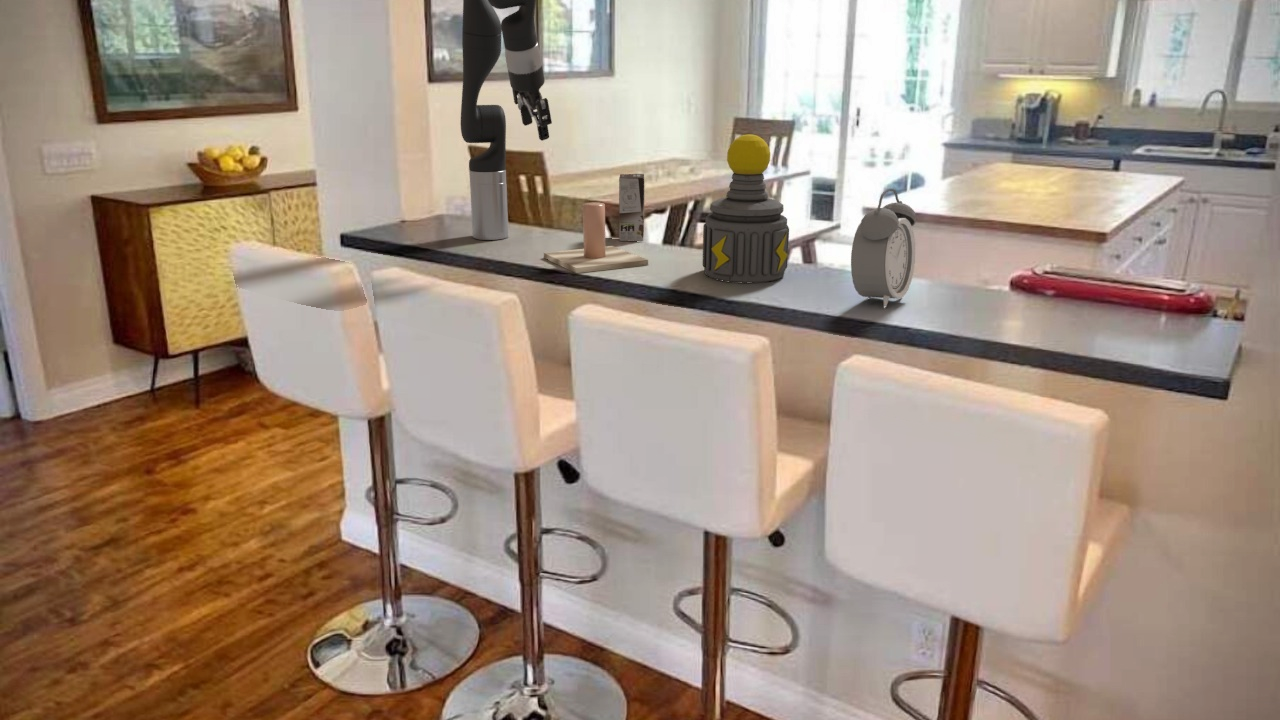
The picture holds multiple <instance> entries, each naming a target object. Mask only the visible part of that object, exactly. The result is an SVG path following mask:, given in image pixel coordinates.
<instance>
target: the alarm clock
mask: <svg viewBox="0 0 1280 720" xmlns="http://www.w3.org/2000/svg"><path fill="white" fill-rule="evenodd" d="M888 192H893V193H894V196H895V201H896V202H891V203H888V204H885V205H884V206H883V207H882V203H883V198H884V196H885V195H886V194H887V193H888ZM916 222H917V218H916V211H915V210H914V209H913V208H912V207H911V206H910V205H909V204H906V203H903V201H901V200H900V199H899V197H898V192H897V191H896V189H894V188H887V189H886V190H884V191H882V192H881V194H880V197H879V200H878V204H877V208H874V209H872V210H870V211H869V212H866V213H865V215H864V216H863V217H862V218H861V221H860V223H859V224H858V226H857V228H856V230H855V233H854V237H853V242H852V247H851V253H850V255H851V256H850V271H851V279H852V283H853V287H854V288H855V291H856V292H857V294H858V295H859V296H861V297H863V298H867V299H868V298H870V299H871V298H880V299H882V298H883V307H884V306H886V307H887V306H888V303H889V300H890V299H895V300H896V299H900V298H902V299H903V298H904V296H905V295H906V294H907V293H908V291H909V289H910V286H911V283H912V280H913V276H914V272H915V270H914V269H915V263H916V239H915V233H914V229H913V226H914V225H915V224H916Z"/></svg>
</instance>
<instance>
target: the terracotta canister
mask: <svg viewBox="0 0 1280 720" xmlns="http://www.w3.org/2000/svg"><path fill="white" fill-rule="evenodd" d="M582 227H583V228H582V230H583V231H582V233H583V249H584V257H585V258H591V259H598V258H604V257H605V256H606V251H605V247H606V204H605V203H603V202H595V201H594V202H584V203H583V204H582Z"/></svg>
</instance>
